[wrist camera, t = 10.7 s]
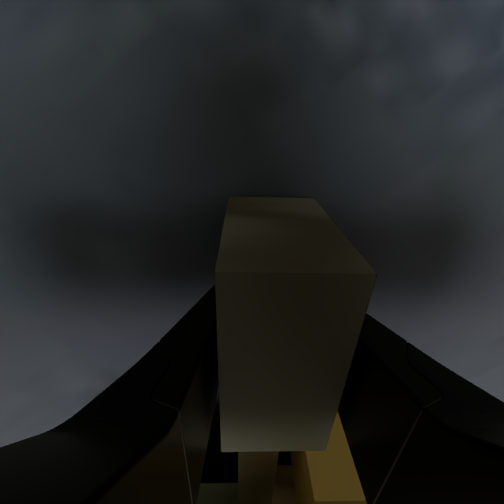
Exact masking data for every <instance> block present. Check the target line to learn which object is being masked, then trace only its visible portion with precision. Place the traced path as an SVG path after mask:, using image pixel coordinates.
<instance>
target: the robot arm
mask: <svg viewBox="0 0 504 504" xmlns="http://www.w3.org/2000/svg"><path fill="white" fill-rule="evenodd" d="M218 386H219V375H218V347H217V319H216V291H215V285H214V286H213V287H212V288H211V289H210V290H209V291H208V292H207V293H206V294H205V295H204V296H203V297H202V298H201V299H200V300H199V301H198V302H197V303H196V304H195V305H194V306H193V307H192V308H191V309H190V310H189V311H188V312H187V313H186V314H185V315H184V316H183V317H182V318H181V319H180V320H179V321H178V322H177V323H176V324H175V325H174V326H173V327H172V328H171V330H170V331H169V332H168V333H167V334H166V335H165V336H164V337H163V338H162V339H161V340H160V342H158V343H157V344H156V345H155V346H154V347H153V348H152V349H151V350H150V351H149V352H148V353H146V354H145V355H144V356H143V357H142V358H141V359H140V360H139V361H138V362H137V363H136V364H135V365H134V366H132V367H131V368H130V369H129V370H128V371H127V372H126V373H124V374H123V375H122V376H121V377H120V378H118V379H117V380H116V381H115V382H114V383H112V384H111V385H110V386H109V387H108V388H106V389H105V390H104V391H103V392H102V393H100V394H99V395H98V396H97V397H96V398H94V399H93V400H92V401H91V402H90V403H88V404H87V405H86V406H85V407H83V408H82V409H81V410H80V411H79V412H77V413H76V414H75V415H73V416H72V417H71V418H69V419H68V420H66V421H65V422H63V423H62V424H60V425H59V426H57V427H55V428H53V429H51V430H49V431H47V432H45V433H42V434H39V435H36V436H33V437H30V438H27V439H24V440H21V441H18V442H15V443H12V444H9V445H6V446H3V447H0V504H197V499H198V493H199V488H200V483H201V477H202V472H203V467H204V461H205V456H206V450H207V445H208V440H209V434H210V429H211V424H212V418H213V413H214V407H215V402H216V397H217V391H218ZM337 411H338V414H339V417H340V420H341V424H342V427H343V430H344V433H345V436H346V439H347V442H348V446H349V449H350V452H351V455H352V458H353V461H354V465H355V468H356V471H357V474H358V477H359V480H360V483H361V487H362V490H363V493H364V496H365V499H366V502H367V504H504V402H502V401H500V400H499V399H497V398H495V397H494V396H492V395H491V394H489V393H487V392H486V391H484V390H482V389H481V388H479V387H477V386H476V385H474V384H472V383H471V382H469V381H467V380H466V379H464V378H462V377H461V376H459V375H458V374H456V373H454V372H453V371H451V370H450V369H448V368H446V367H445V366H443V365H441V364H440V363H438V362H437V361H435V360H434V359H432V358H431V357H429V356H428V355H426V354H425V353H423V352H422V351H420V350H419V349H417V348H416V347H415V346H413V345H412V344H410V343H407V341H406V340H404V339H403V338H401V337H400V336H399V335H397V334H396V333H394V332H393V331H391V330H390V329H388V328H387V327H386V326H384V325H383V324H381V323H380V322H378V321H377V320H376V319H374V318H373V317H371V316H370V315H368V314H367V313H366V314H365V318H364V321H363V325H362V328H361V331H360V335H359V338H358V342H357V345H356V349H355V352H354V355H353V359H352V362H351V366H350V369H349V373H348V376H347V379H346V383H345V386H344V390H343V393H342V396H341V400H340V403H339V407H338V410H337Z"/></svg>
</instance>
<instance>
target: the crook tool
mask: <svg viewBox="0 0 504 504" xmlns="http://www.w3.org/2000/svg"><path fill="white" fill-rule="evenodd" d="M376 277H377V273H376V272H375V271H374V269H373V268H372V267H371V266H370V265H369V263H368V262H367V261H366V260H365V259H364V257H363V256H362V255H361V254H360V253H359V251H358V250H357V249H356V248H355V247H354V245H353V244H352V243H351V242H350V241H349V239H348V238H347V237H346V236H345V235H344V233H343V232H342V231H341V230H340V229H339V227H338V226H337V225H336V224H335V223H334V221H333V220H332V219H331V218H330V217H329V215H328V214H327V213H326V212H325V211H324V209H323V208H322V207H321V206H320V205H319V203H318V202H317V201H316V200H315V199H314V198H289V197H249V196H229V197H228V202H227V208H226V213H225V219H224V224H223V230H222V235H221V241H220V246H219V251H218V257H217V262H216V268H215V291H216V319H217V347H218V375H219V402H220V430H221V452H238V504H297V500H296V492H295V485H294V478H293V470H292V465H277V462H278V455H279V451H326V448H327V444H328V441H329V437H330V434H331V431H332V427H333V424H334V420H335V417H336V414H337V410H338V407H339V403H340V400H341V396H342V393H343V390H344V386H345V383H346V379H347V376H348V373H349V369H350V366H351V362H352V359H353V355H354V352H355V349H356V345H357V342H358V338H359V335H360V331H361V328H362V325H363V321H364V318H365V314H366V311H367V308H368V304H369V301H370V297H371V294H372V290H373V287H374V284H375V280H376Z"/></svg>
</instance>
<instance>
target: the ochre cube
mask: <svg viewBox="0 0 504 504" xmlns="http://www.w3.org/2000/svg"><path fill="white" fill-rule="evenodd" d="M290 456H291V463H292V470H293V478H294V485H295V492H296V500H297V504H367V502H366V499H365V496H364V493H363V490H362V487H361V483H360V480H359V477H358V474H357V471H356V468H355V465H354V461H353V458H352V455H351V452H350V449H349V446H348V442H347V439H346V436H345V433H344V430H343V427H342V424H341V420H340V417H339V414H338V411H337V414H336V417H335V420H334V424H333V427H332V431H331V434H330V437H329V441H328V444H327V448H326V451H290Z"/></svg>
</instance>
